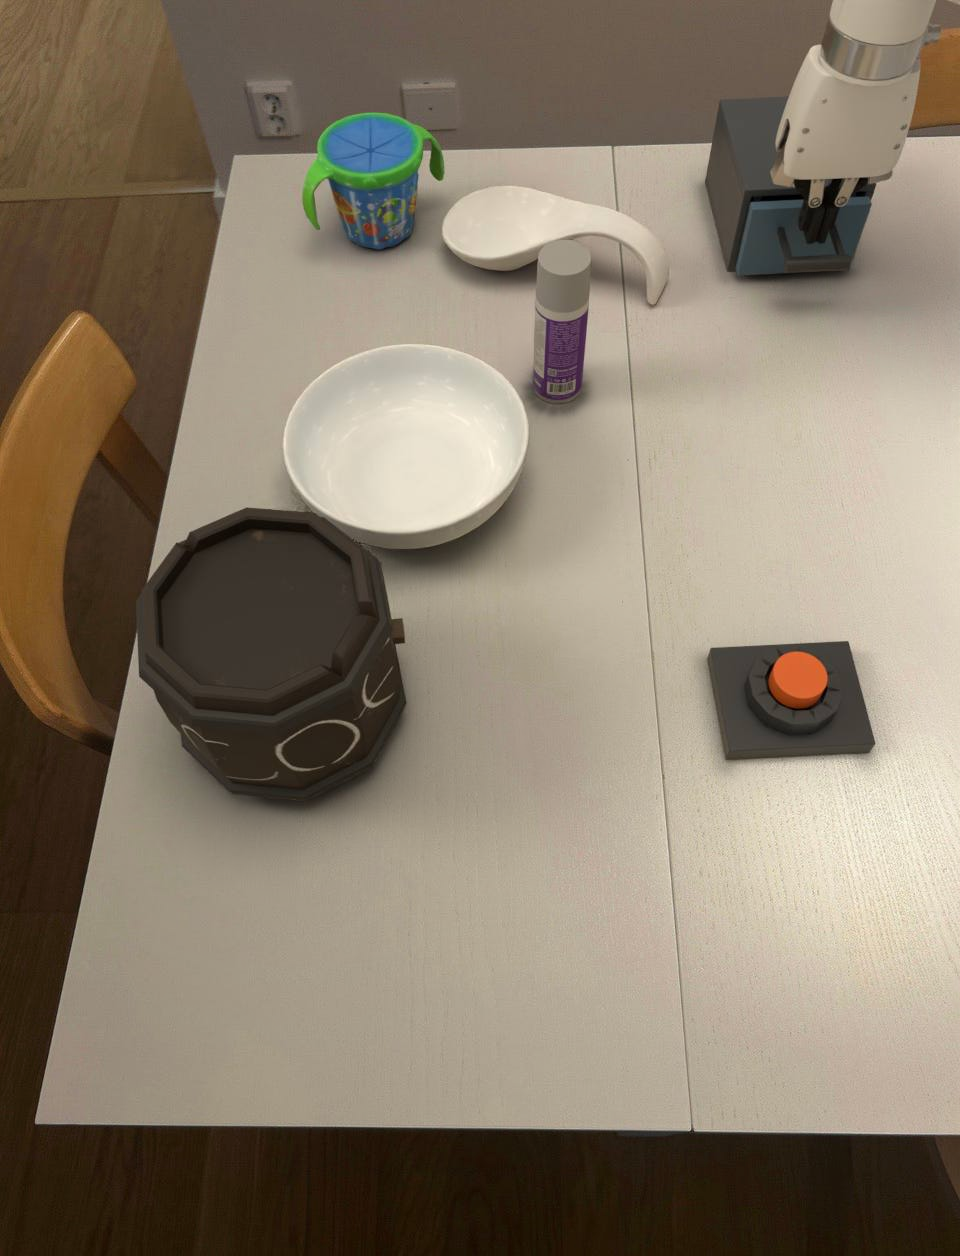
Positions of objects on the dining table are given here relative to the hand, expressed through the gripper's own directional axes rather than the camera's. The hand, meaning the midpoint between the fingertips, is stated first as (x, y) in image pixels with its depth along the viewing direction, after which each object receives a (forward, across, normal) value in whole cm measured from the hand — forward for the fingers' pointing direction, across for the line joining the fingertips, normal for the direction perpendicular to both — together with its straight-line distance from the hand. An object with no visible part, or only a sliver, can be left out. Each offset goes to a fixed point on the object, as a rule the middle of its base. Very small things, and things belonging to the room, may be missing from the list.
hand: (812, 233), depth 100 cm
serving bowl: (+8, +39, +22) cm, 45 cm away
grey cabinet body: (+8, 0, -11) cm, 14 cm away
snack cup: (+8, +42, -13) cm, 45 cm away
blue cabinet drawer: (+7, 0, -6) cm, 9 cm away
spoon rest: (+8, +24, -6) cm, 26 cm away
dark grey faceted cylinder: (+8, +48, +44) cm, 65 cm away
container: (+8, +25, +11) cm, 28 cm away
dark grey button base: (+8, +10, +46) cm, 47 cm away
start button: (+4, +10, +46) cm, 47 cm away
